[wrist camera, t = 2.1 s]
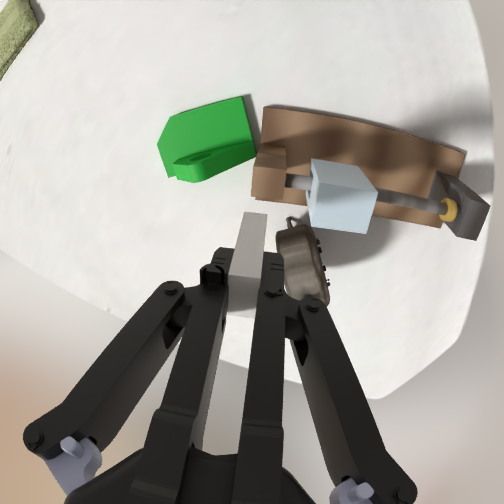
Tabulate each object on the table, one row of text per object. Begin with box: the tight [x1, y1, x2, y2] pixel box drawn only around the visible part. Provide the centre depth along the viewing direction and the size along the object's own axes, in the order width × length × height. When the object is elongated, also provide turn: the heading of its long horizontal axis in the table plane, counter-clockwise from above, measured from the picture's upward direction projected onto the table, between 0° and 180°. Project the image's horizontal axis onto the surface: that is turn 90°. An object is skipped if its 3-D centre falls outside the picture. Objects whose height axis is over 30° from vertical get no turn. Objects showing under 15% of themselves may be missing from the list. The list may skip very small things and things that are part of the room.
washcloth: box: [0, 0, 38, 80], centre depth 21 cm, size 13×18×3 cm
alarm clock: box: [276, 217, 330, 307], centre depth 34 cm, size 11×5×16 cm, turn 19°
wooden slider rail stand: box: [251, 107, 490, 241], centre depth 30 cm, size 28×12×10 cm, turn 86°
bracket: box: [157, 96, 257, 183], centre depth 31 cm, size 12×8×7 cm, turn 104°
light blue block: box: [306, 158, 378, 234], centre depth 25 cm, size 5×4×7 cm
